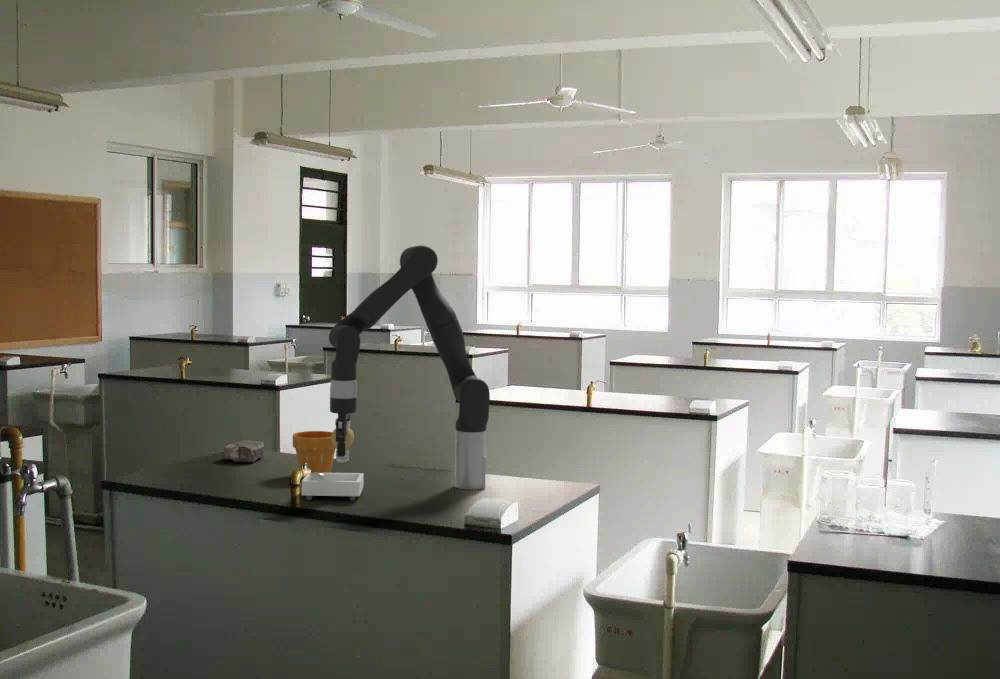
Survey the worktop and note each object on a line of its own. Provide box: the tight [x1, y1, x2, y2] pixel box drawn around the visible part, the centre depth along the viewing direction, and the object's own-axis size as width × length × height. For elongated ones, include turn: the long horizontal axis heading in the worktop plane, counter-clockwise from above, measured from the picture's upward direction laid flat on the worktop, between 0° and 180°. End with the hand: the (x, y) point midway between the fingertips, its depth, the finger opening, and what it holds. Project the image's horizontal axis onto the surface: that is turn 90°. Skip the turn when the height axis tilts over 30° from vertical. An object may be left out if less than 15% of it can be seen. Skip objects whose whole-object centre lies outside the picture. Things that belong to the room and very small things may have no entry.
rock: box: [221, 439, 265, 464], centre depth 335 cm, size 13×6×15 cm
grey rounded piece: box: [310, 472, 325, 481], centre depth 284 cm, size 4×4×4 cm
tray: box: [301, 472, 365, 502], centre depth 284 cm, size 16×12×6 cm
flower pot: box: [292, 430, 337, 473], centre depth 312 cm, size 14×14×13 cm
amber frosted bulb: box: [331, 427, 355, 463], centre depth 284 cm, size 6×6×10 cm
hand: (342, 454), depth 284 cm, fingers closed on amber frosted bulb, 6 cm apart
